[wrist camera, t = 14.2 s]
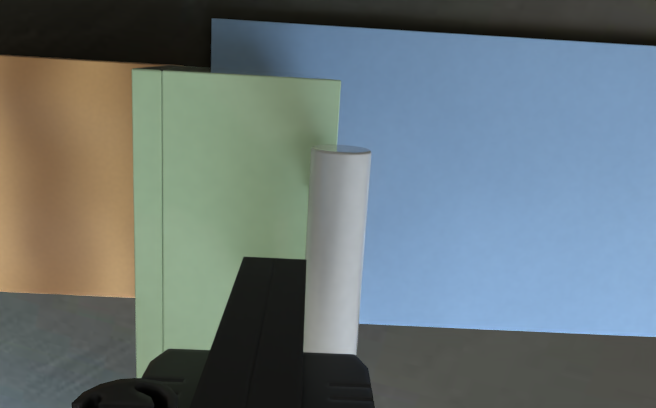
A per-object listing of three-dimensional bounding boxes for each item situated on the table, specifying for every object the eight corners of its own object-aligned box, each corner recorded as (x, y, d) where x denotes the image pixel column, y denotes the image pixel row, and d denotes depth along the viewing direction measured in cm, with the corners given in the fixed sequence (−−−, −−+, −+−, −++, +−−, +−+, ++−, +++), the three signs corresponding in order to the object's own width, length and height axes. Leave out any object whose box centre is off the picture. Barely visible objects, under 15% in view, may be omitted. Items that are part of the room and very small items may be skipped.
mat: (208, 314, 34) (207, 317, 33) (212, 18, 30) (211, 18, 30) (676, 335, 34) (680, 338, 34) (734, 51, 31) (739, 51, 30)
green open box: (166, 65, 27) (304, 73, 28) (167, 300, 29) (293, 298, 31) (113, 69, 13) (384, 84, 14) (123, 506, 16) (352, 489, 17)
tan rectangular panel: (184, 65, 30) (167, 65, 27) (183, 275, 33) (168, 299, 30) (-43, 51, 30) (-89, 49, 27) (-26, 265, 33) (-66, 289, 29)
